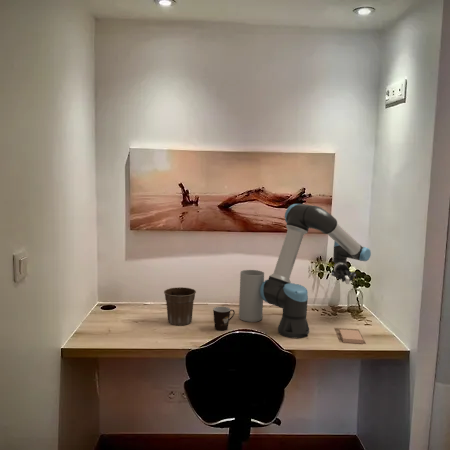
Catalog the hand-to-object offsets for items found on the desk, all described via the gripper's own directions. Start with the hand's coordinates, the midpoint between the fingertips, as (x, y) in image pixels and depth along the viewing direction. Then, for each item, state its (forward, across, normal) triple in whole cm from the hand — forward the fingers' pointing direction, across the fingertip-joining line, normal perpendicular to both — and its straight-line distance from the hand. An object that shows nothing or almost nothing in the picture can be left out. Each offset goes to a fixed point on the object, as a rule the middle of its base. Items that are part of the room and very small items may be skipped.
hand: (347, 281), depth 227 cm
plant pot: (+7, +84, -26) cm, 88 cm away
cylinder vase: (-6, +48, -26) cm, 55 cm away
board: (+12, -1, -25) cm, 27 cm away
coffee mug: (+12, +60, -26) cm, 66 cm away
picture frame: (+10, -1, -23) cm, 25 cm away
